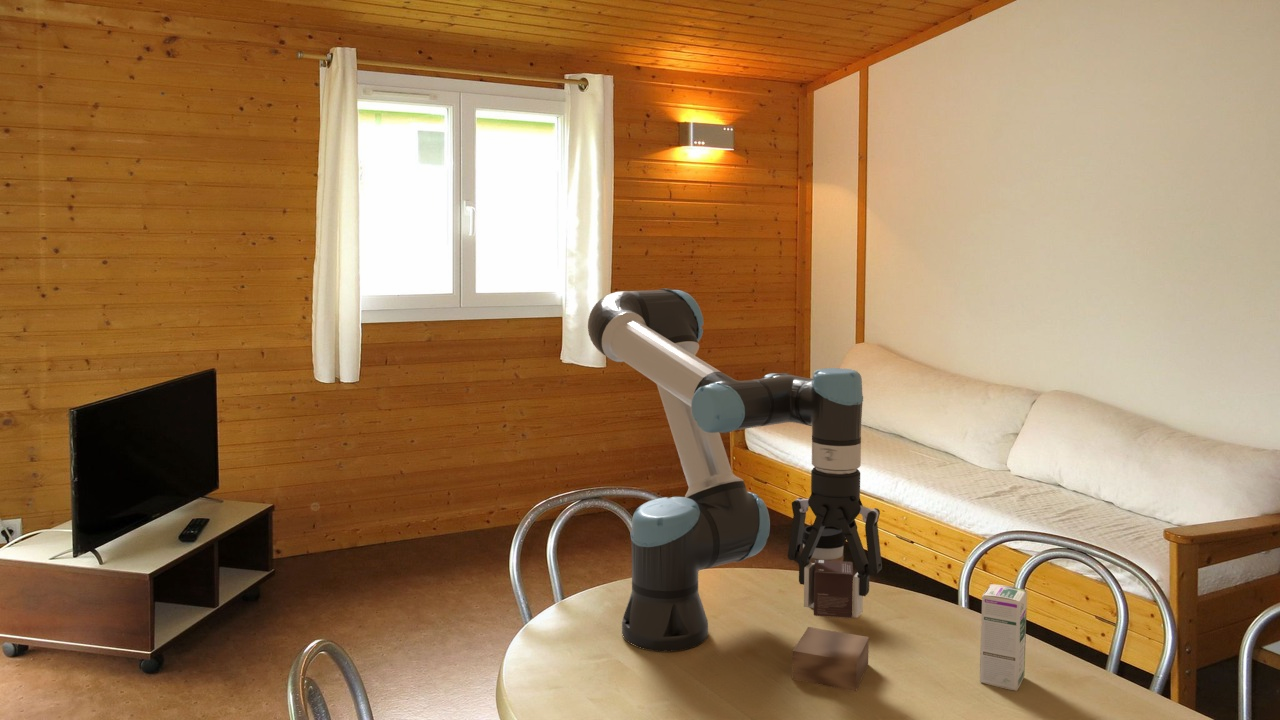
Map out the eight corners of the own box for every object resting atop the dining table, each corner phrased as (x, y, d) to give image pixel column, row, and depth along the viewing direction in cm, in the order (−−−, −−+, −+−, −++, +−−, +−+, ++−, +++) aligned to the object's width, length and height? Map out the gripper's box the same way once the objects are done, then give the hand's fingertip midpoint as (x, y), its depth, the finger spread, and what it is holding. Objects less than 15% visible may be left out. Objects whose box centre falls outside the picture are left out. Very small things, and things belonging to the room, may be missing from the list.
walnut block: (792, 680, 147) (792, 650, 146) (807, 655, 156) (808, 626, 155) (855, 693, 142) (856, 662, 142) (868, 666, 151) (868, 637, 151)
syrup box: (1017, 692, 142) (1022, 601, 140) (977, 682, 145) (981, 593, 143) (1024, 677, 147) (1029, 589, 145) (985, 668, 150) (989, 582, 148)
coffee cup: (848, 613, 172) (850, 534, 171) (803, 612, 173) (804, 534, 171) (839, 595, 181) (841, 521, 179) (796, 595, 181) (797, 521, 179)
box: (852, 619, 144) (853, 574, 143) (812, 616, 145) (813, 571, 144) (852, 605, 150) (853, 561, 149) (814, 602, 151) (815, 558, 150)
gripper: (766, 465, 147) (764, 604, 150) (893, 481, 136) (889, 630, 139) (784, 456, 153) (782, 589, 156) (907, 470, 143) (903, 613, 146)
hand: (832, 608), depth 148 cm, fingers closed on box, 7 cm apart
